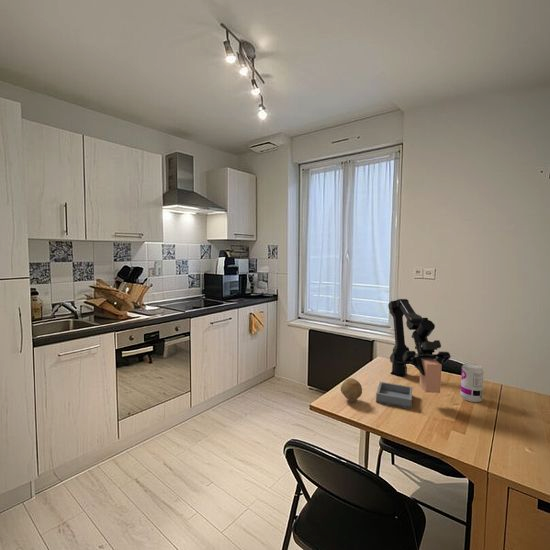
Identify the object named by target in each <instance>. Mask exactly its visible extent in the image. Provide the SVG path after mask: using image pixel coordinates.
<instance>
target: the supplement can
mask: <svg viewBox="0 0 550 550" xmlns="http://www.w3.org/2000/svg"><path fill="white" fill-rule="evenodd" d="M484 373H485V371H484V369H483V366H481V365H480V364H477V363H471V362H470V363H469V362H466V363H463V365H462V366H461V375H460V376H461V379H460V392H459V393H460V394H459V395H460V397H461V398H462V399H463V400H465V401H468V402H471V403H479V402H481V401H482V400H483V391H484V390H483V388H484V387H483V386H484Z"/></svg>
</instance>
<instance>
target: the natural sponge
mask: <svg viewBox="0 0 550 550" xmlns="http://www.w3.org/2000/svg"><path fill="white" fill-rule="evenodd" d="M340 392H341V393H342V395H343V396H344V397H345V398H346V399H347V400H348V401H349V402H351V403H354V402H356V401H357V400H358V399H359V398H360V397H361V396H362V394H363V387H362V385H361V383H360V382H359V380H357V379H355V378H352V377H350V378H347V379H345V380H344V381H343V382H342V384H341V386H340Z"/></svg>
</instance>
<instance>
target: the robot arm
mask: <svg viewBox="0 0 550 550" xmlns="http://www.w3.org/2000/svg"><path fill="white" fill-rule="evenodd" d="M387 307H388V309H389V314H390V315H391V316H392V318H393V327H394V328H393V330H394V331H393V332H394V341H395V342H394V343H395V345H394V346H393V348H392V353H391V354H390V356H389V362H390V363H391V365H392V367H391V372H390V374H391V375H395V376H398V377H401V378H403V377H405V376H406V375H408V365H409V364H411V365H413V366H414V367H415V368H416V369H417V370H418V371H419V374H420V373H421V374H422V375H423V376H425V372H424V369H423V366H422V363H421V359H427V360H436V361H437V362H439V363H440V364H445V363H447V362H448V361H449V360H450V359H451V357H452V355H451V354H450V352H449V351H438V349H441V348H442V344H441V341H440V340H438V339H436V340H434V341H430V340H429V339H428V337H429V336H431V334H432V332H433V331H434V330H435V328H436V325H435V323H434V322H433V320H430V319H429V318H428V317H422V316H421V315H420V314H417V313H416V312H415V310H414V309H413V307H412V305H411V304H410V301H409V299H407V298H399V299H396V300H390V301H389V303H388V306H387ZM403 316H404V317H405V318H406V322H405V323H406V327H407V329H408V330H409V331H412V333H411V334H412V335H411V338H412V339H413V341H414V345H415V346H414V349H415V350H416V351H417V352H416V351H414V350H410V348H409V346H407V345H406V343H405V331H404V317H403ZM435 350H436V351H438V353H436V354H434V353H435V352H436V351H435Z"/></svg>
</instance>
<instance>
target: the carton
mask: <svg viewBox="0 0 550 550" xmlns="http://www.w3.org/2000/svg"><path fill="white" fill-rule="evenodd" d="M421 363H422V366H423V369H424V372H425V376H423V375H422V374H421V373H420V372H419V385H418V386H419V388H421V389H422V391H423V392H424V393H432V394H433V393H437V394H440V393H441V382H442V367H443V365H442V364H443V363H441V364H440V363H439V362H437V361H436V360H434V359H421Z"/></svg>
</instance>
